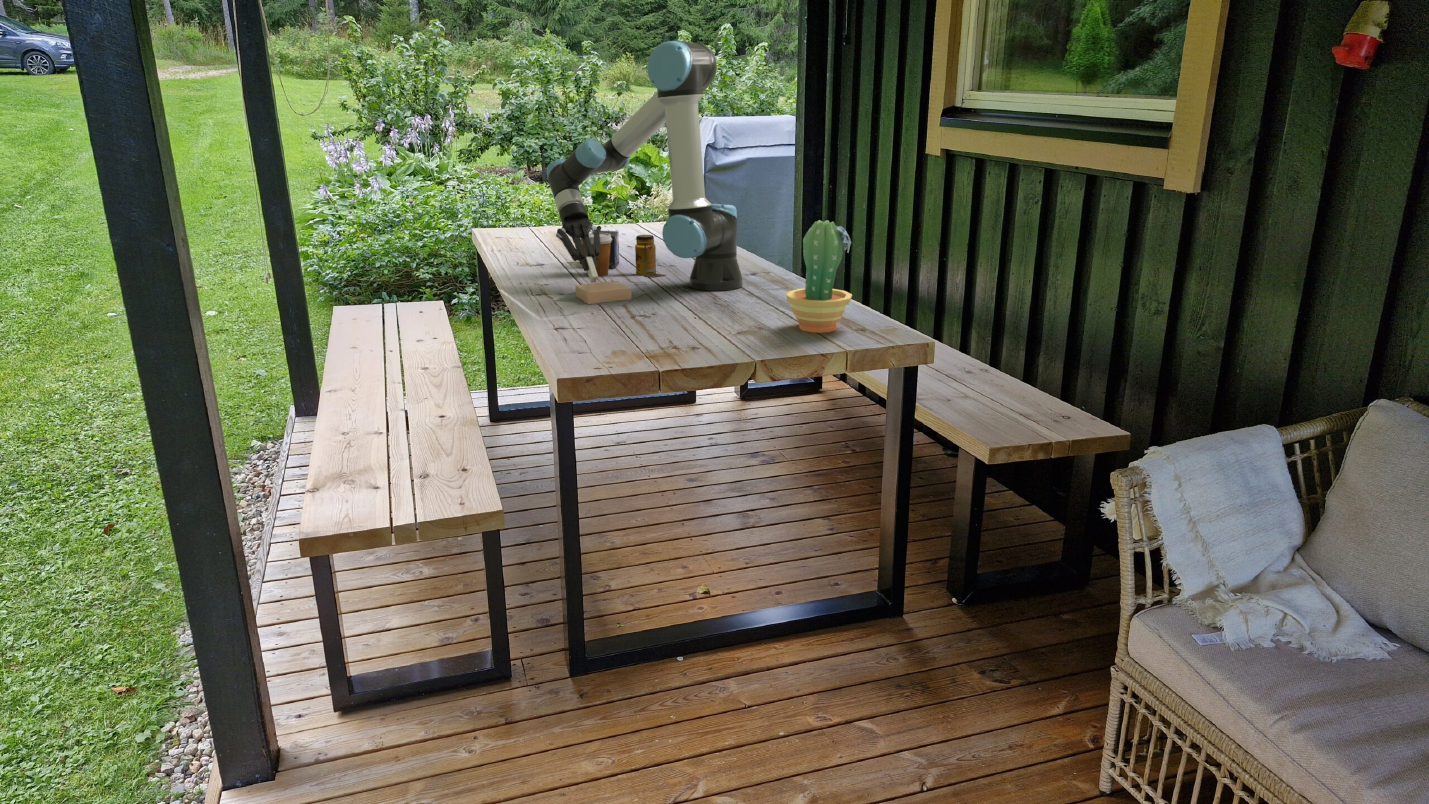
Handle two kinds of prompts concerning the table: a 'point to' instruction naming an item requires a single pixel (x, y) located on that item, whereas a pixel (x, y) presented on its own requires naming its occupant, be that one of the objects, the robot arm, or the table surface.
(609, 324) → the table surface
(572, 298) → the mat
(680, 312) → the table surface
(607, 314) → the table surface
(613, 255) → the small box
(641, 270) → the condiment
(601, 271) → the disposable coffee cup
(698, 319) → the table surface
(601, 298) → the tile
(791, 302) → the potted cactus
